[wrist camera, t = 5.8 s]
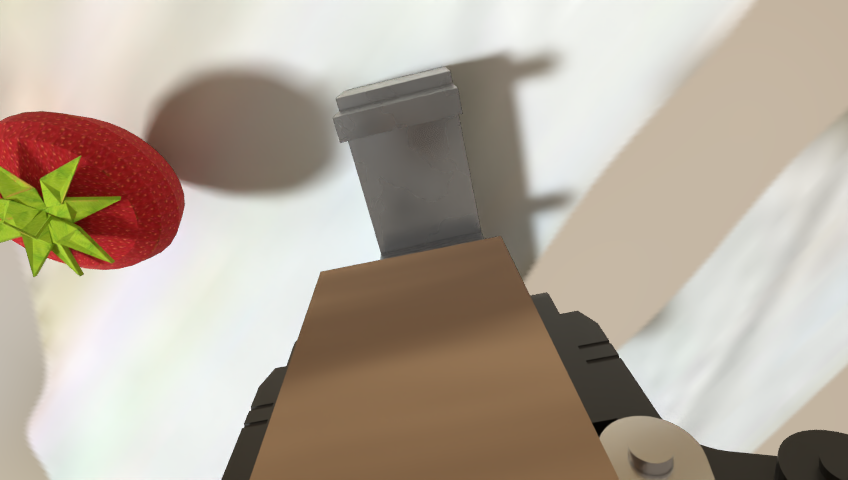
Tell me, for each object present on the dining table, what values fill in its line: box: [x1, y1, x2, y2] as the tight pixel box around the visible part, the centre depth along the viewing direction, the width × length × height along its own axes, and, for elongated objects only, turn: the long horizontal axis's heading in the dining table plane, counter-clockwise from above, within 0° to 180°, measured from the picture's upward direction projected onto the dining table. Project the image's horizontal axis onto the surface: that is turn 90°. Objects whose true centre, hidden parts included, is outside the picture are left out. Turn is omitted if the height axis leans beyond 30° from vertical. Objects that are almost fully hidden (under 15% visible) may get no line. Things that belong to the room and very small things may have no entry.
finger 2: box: [250, 236, 619, 480], centre depth 8 cm, size 5×4×7 cm
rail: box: [333, 67, 484, 260], centre depth 24 cm, size 20×5×5 cm, turn 13°
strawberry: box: [0, 111, 185, 277], centre depth 19 cm, size 6×8×10 cm
